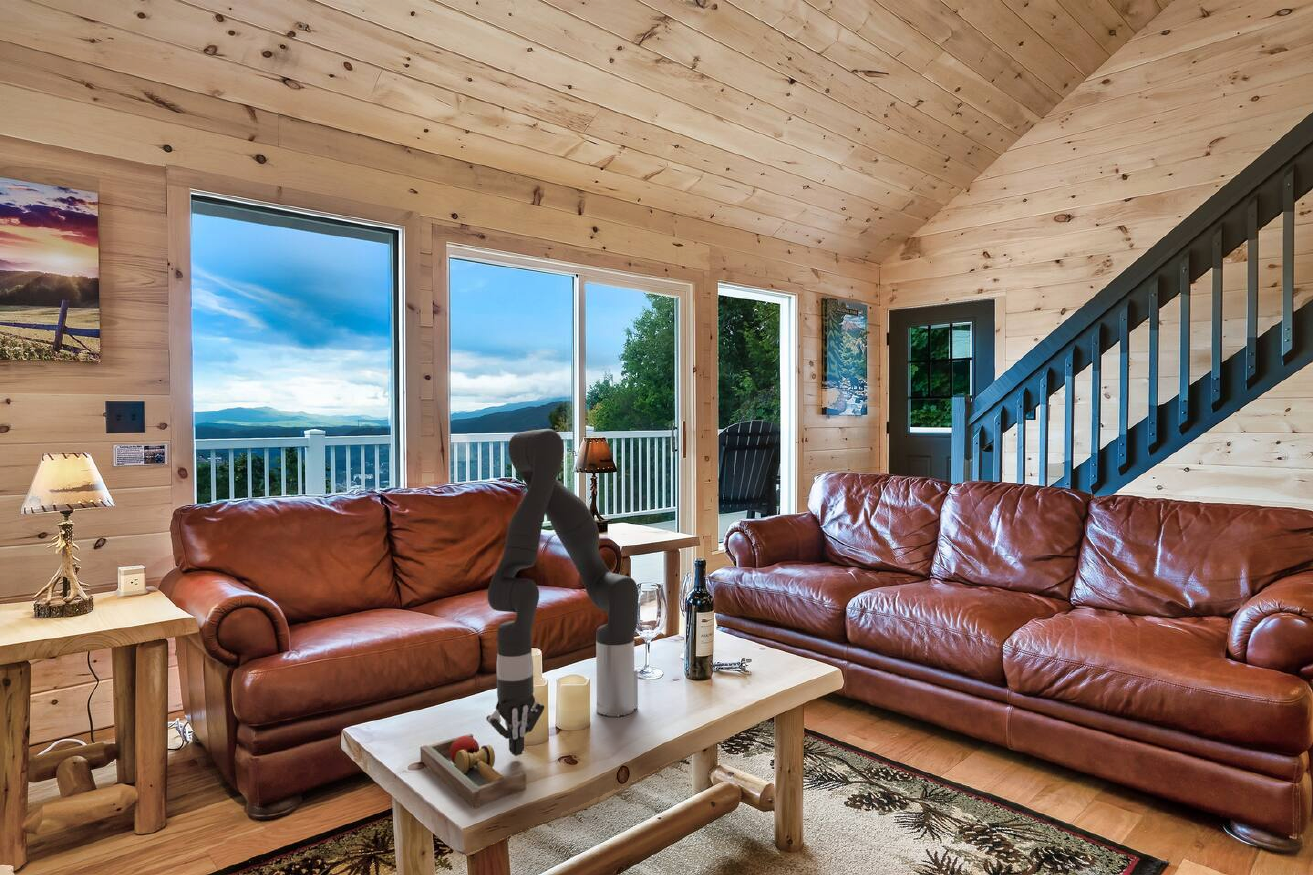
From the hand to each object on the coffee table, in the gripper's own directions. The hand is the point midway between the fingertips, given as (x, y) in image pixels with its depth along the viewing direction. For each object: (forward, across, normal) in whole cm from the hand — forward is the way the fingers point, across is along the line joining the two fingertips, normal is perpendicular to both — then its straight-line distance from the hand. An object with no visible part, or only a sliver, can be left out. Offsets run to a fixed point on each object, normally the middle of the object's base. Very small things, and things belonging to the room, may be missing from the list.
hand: (516, 753), depth 165 cm
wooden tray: (+1, +10, 0) cm, 10 cm away
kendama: (+2, +9, +2) cm, 9 cm away
